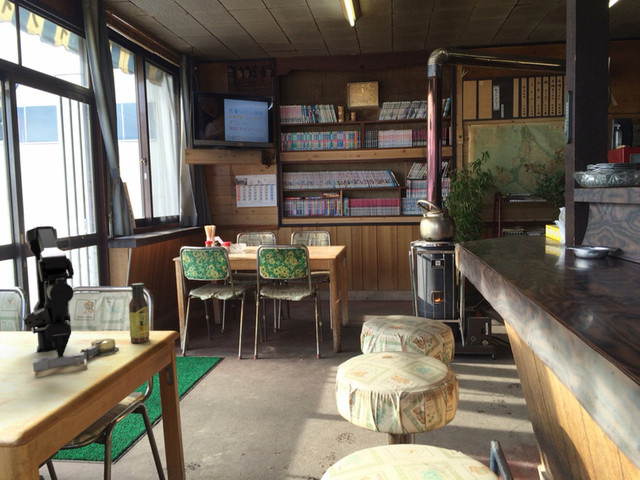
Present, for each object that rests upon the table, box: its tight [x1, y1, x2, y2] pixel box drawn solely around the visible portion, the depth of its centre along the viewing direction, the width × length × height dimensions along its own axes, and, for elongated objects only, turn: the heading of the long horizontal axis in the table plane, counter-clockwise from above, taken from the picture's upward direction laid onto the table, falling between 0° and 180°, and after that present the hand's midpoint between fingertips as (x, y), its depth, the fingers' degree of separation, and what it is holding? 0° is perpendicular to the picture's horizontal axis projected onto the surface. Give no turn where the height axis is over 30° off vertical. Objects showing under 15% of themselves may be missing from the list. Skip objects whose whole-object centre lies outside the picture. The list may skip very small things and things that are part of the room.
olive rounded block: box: [79, 338, 116, 360], centre depth 157 cm, size 14×7×3 cm, turn 169°
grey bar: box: [32, 352, 84, 373], centre depth 143 cm, size 13×4×3 cm, turn 117°
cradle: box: [34, 358, 88, 378], centre depth 143 cm, size 13×6×3 cm, turn 117°
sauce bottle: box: [128, 282, 150, 344], centre depth 170 cm, size 6×6×20 cm
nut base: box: [92, 346, 120, 357], centre depth 160 cm, size 9×9×1 cm
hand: (60, 352), depth 142 cm, fingers open, 9 cm apart
